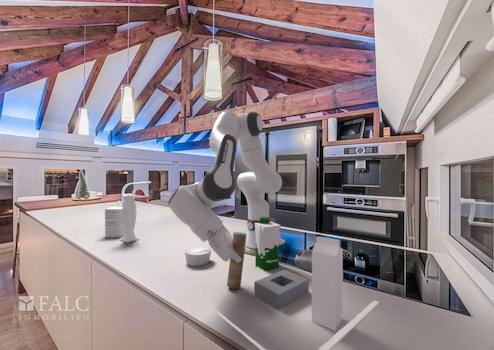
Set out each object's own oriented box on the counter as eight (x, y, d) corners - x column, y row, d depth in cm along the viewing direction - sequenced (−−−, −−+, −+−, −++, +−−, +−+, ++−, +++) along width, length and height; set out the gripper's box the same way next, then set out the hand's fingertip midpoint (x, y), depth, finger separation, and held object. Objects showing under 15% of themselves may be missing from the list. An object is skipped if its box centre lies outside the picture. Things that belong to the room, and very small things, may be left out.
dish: (293, 270, 92) (293, 258, 92) (298, 258, 105) (298, 247, 105) (332, 276, 87) (332, 263, 87) (332, 263, 100) (332, 251, 100)
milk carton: (270, 262, 100) (270, 216, 100) (282, 270, 92) (283, 219, 92) (252, 266, 96) (252, 217, 96) (263, 274, 88) (264, 222, 88)
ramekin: (205, 268, 94) (205, 255, 94) (179, 266, 96) (179, 253, 96) (214, 258, 105) (214, 246, 105) (191, 256, 107) (191, 245, 107)
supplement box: (112, 233, 147) (112, 206, 146) (127, 232, 148) (127, 206, 147) (104, 237, 137) (104, 208, 137) (121, 237, 138) (120, 208, 138)
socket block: (284, 283, 81) (284, 269, 81) (308, 295, 73) (308, 279, 73) (254, 297, 72) (254, 281, 72) (278, 312, 64) (279, 294, 64)
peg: (233, 281, 79) (239, 231, 79) (243, 286, 76) (249, 234, 77) (224, 284, 76) (230, 232, 76) (234, 290, 73) (240, 236, 73)
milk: (319, 313, 64) (320, 233, 64) (342, 322, 60) (343, 237, 60) (311, 325, 59) (311, 238, 59) (335, 335, 55) (336, 242, 55)
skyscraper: (140, 240, 132) (140, 190, 131) (127, 244, 125) (126, 191, 125) (132, 238, 136) (132, 190, 136) (118, 241, 129) (118, 191, 129)
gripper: (215, 228, 65) (249, 262, 66) (217, 215, 85) (243, 241, 87) (199, 245, 65) (234, 278, 66) (204, 227, 85) (231, 253, 86)
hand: (239, 257), depth 76 cm, fingers closed on peg, 4 cm apart
